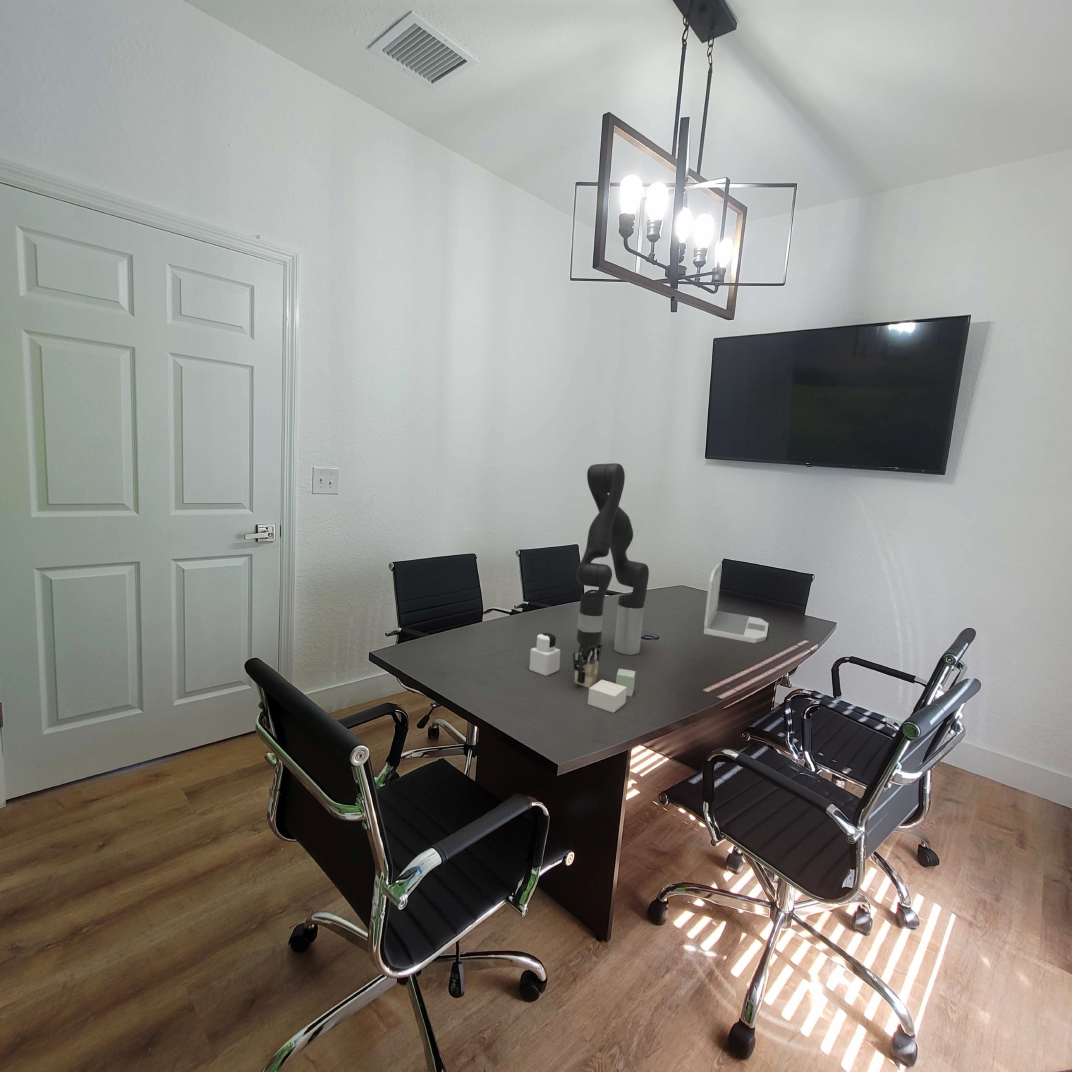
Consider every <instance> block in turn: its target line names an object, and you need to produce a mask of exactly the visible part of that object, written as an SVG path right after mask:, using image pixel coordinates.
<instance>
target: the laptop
mask: <svg viewBox="0 0 1072 1072" xmlns="http://www.w3.org/2000/svg"><path fill="white" fill-rule="evenodd" d="M722 570H723V569H722V562H719V563H717V564H716V566H715V567H714V568H713V569H712V571H711V573H710V577H709V580H708V588H707V595H706V596H707V597H706V605H705V613H704V615H705V616H704V623H703V625H704V628H703V634H704V635H710V636H716V637H721V638H726V639H731V640H737V641H743V642H748V643H753V644H756V643H761V642H765V641H766V639H767V636H768V629H769V622H767V621H766V620H764V619H762V618H760V617H754V616H749V615H744V614H738V613H732V612H727V611H720V610H718V604H719V597H720V596H719V595H720V594H719V593H720V585H721V578H722Z"/></svg>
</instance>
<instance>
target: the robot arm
mask: <svg viewBox="0 0 1072 1072" xmlns="http://www.w3.org/2000/svg"><path fill="white" fill-rule="evenodd" d="M586 475H587V476H586V478H587V479H586V480H587V485H588V487H589V490H590V493H591V496H592V498H593V499H594V502H595V505H596V508H597V509H598V514H596V516H595V518H594V519H593V521H592V523H591V525H590V526H589V529H588V535H587V539H586V540H587V541H586V547H585V551H584V554H583V556H582V559H581V561H580V563H579V565H578V568H577V570H576V575H575V578H576V580H577V582H578V585H579V584H580V585H582V586H585V587H586V586H587V587H593V588H594V587H596V588H598V589H597V590H596V591H593V592H585V593H582V594H581V596H580V602H579V603H580V604H579V613H578V617H577V618H578V619H577V628H576V629H577V631H576V632H577V633H576V642H577V643H578V644H579V648H578V652H573V654H572V660H573V661H572V662H573V670H574V671H575V670H576V671H578V679H577V681H578V682H579V683H581V684H583V683H584V682H585V671H586V665H588V664H589V661H590V660H593V661H598V664H599V663H600V658H601V654H602V649H603V644H601V643H602V634H603V624H604V622H603V621H604V620H603V618H604V617H603V613H604V605H605V604H604V602H605V597H606V594H607V590H608V588H609V586H610V583H611V581H612V578H613V571H612V568H611V567H610V566H609V565H608V564H606V563H605V564H604V563H594V562H593V560H595V559H598V558H605V557H608V556H609V553H610V554H611V558H612V563H613V568H614V574H615V578H616V580H617V583H618V584H620V585H622V586H625V587H630V588H632V591H631V592H630V593H625V594H621V595H620V596H619V597H618V601H617V611H616V613H617V616H616V624H615V633H614V634H615V635H614V643H613V644H614V645H613V649H614V651H615V652H616V653H619V654H623V655H628V656H629V655H630V656H631V655H632V656H633V655H637V654H639V653H640V649H641V641H642V640H641V638H642V629H643V618H644V610H645V609H644V607H645V601H646V597H647V591H648V590H647V589H648V583H649V578H650V572H649V571H650V569H649V567H648V564H646V563H642V562H640V561H639V562H638V561H632V560H630V559H628V555H627V550H628V548H629V546H630V545H631V544H632V542H633V539H634V530H633V526H632V522H631V519H630V516H629V515H628V514H627V513H626V512H625V510H624V509H622V508H621V506H619V505H620V501H621V498H622V495H623V492H624V491H623V490H624V486H625V480H626V477H625V476H626V474H625V470H624V466H623V465H622V464H620V463H617V462H613V463H611V462H610V463H597V464H592V465H590V466H589V467H588V469H587V473H586ZM582 660H586V662H584V661H582ZM582 664H584V666H582ZM577 665H578V666H577Z"/></svg>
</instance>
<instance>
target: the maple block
mask: <svg viewBox="0 0 1072 1072" xmlns="http://www.w3.org/2000/svg"><path fill="white" fill-rule="evenodd" d="M582 661H584V662H586V660H582ZM577 666H578V665H577ZM582 666H584V664H582ZM598 668H599V663H598V661H593V660H590V661H589V664H588V665H586V671H585V682H584V683H583V684H581V683H579V682H578V681H577V679H578V671H576V670H574V671H575V672H574V681H573V682H574V684H577V685H580V686H582V687H585V688H590V687H592V686H593V685H595V684H596V683H597V679H598V670H599V669H598Z"/></svg>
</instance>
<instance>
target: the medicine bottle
mask: <svg viewBox="0 0 1072 1072" xmlns="http://www.w3.org/2000/svg"><path fill="white" fill-rule="evenodd" d="M556 639H557V637H556V636H555V634H553V633H549V632H542V633H539V634H538V635H537V636H536V647H532V648H530V651H529V653H530V654H529V665H528V666H529V670H530V671H532V672H534V673H537V674H540V675H542V676H545V677H546V676H547V677H548V676H549V675H551V674H553V673H556V672H558V671H560V666H561V665H560V664H561V649H559V648H556V644H557V641H556Z"/></svg>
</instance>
